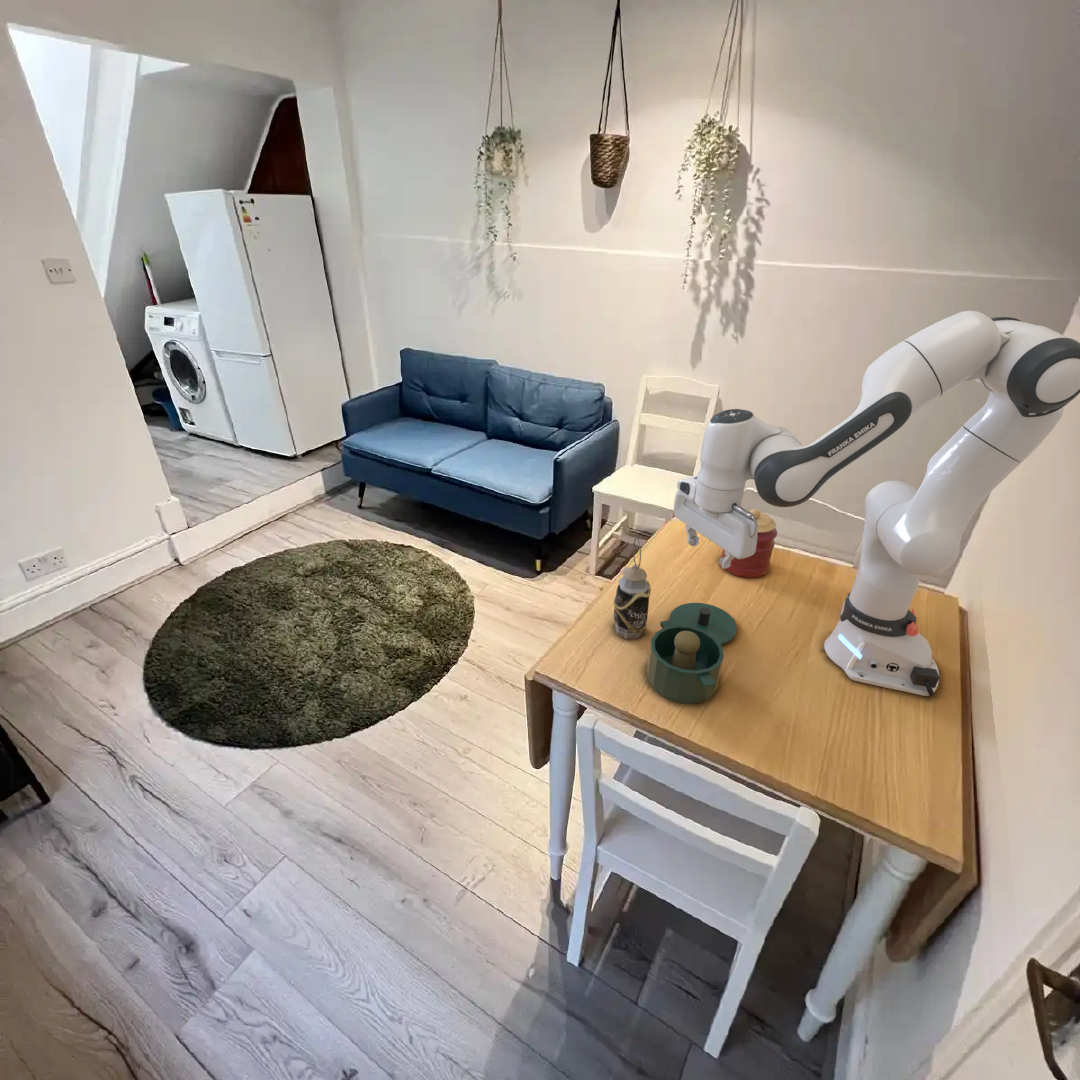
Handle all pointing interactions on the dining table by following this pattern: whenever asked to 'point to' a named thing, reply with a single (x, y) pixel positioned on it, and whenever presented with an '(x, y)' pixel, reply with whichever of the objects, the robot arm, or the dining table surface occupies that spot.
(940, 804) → the dining table surface
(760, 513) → the kitchen canister
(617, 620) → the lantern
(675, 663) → the tan game pawn
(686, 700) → the pot
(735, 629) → the lid
